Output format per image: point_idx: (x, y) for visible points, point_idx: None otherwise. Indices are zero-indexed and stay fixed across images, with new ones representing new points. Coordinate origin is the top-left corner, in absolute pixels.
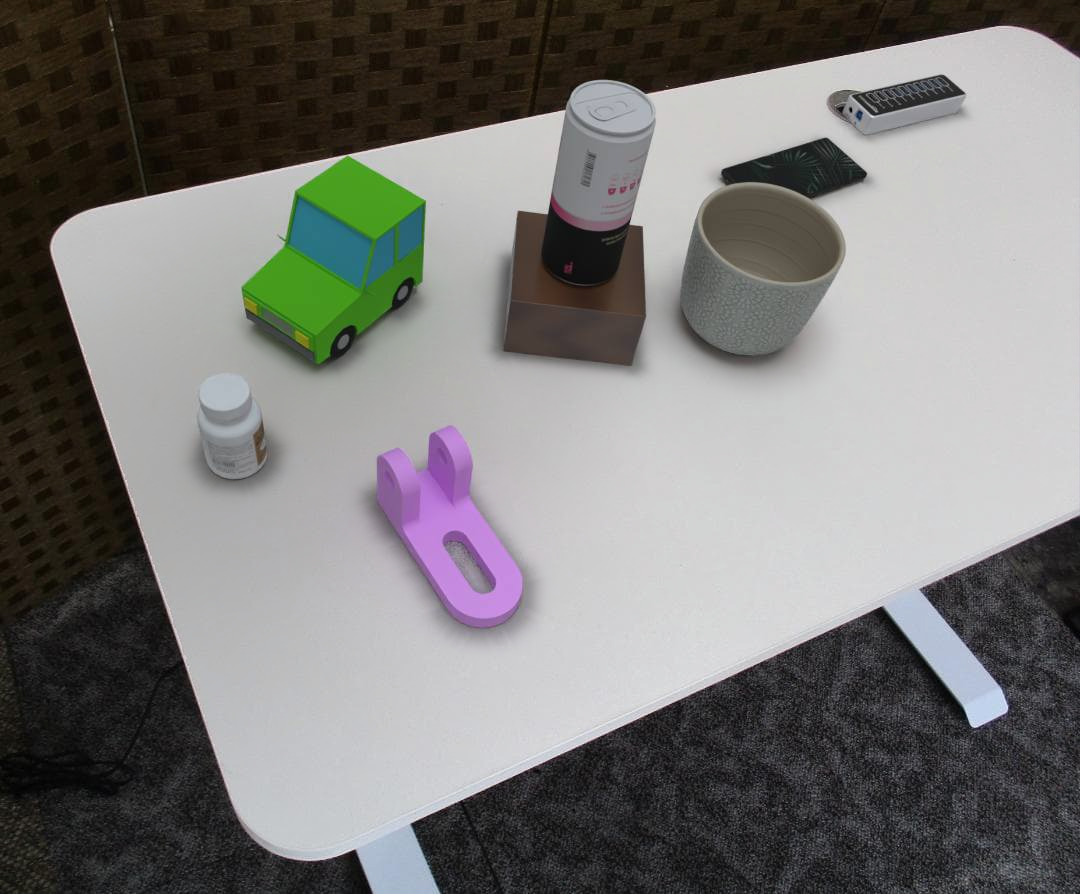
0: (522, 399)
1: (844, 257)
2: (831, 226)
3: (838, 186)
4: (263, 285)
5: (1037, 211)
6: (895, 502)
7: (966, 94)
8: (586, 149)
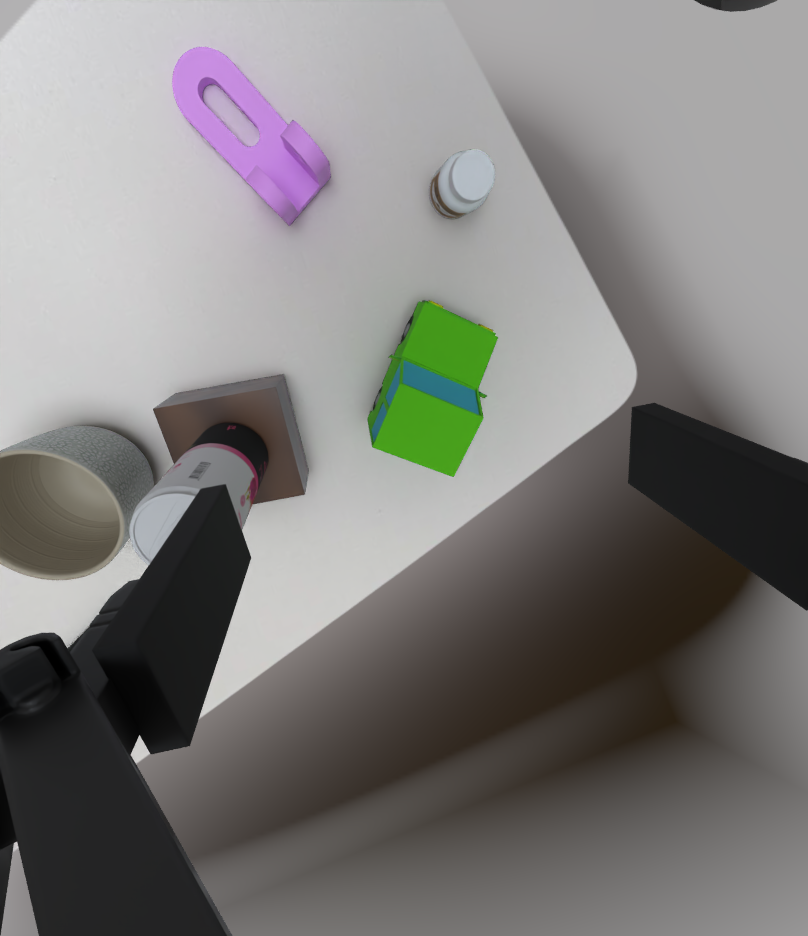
0: (251, 326)
1: None
2: None
3: (69, 647)
4: (481, 344)
5: None
6: None
7: None
8: (200, 480)
